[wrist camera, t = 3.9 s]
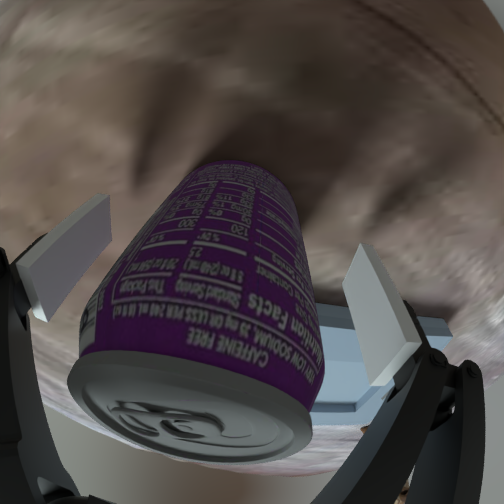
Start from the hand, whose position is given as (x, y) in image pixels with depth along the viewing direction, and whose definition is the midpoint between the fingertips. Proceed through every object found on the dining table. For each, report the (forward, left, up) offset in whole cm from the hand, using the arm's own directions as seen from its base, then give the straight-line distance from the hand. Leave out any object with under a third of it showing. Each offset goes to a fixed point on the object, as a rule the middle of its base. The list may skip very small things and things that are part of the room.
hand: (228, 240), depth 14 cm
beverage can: (0, 0, -3) cm, 3 cm away
